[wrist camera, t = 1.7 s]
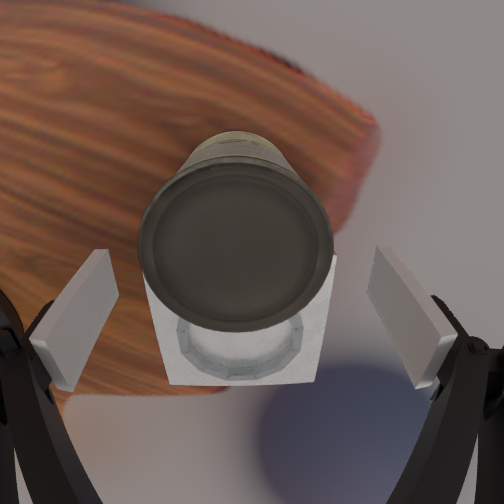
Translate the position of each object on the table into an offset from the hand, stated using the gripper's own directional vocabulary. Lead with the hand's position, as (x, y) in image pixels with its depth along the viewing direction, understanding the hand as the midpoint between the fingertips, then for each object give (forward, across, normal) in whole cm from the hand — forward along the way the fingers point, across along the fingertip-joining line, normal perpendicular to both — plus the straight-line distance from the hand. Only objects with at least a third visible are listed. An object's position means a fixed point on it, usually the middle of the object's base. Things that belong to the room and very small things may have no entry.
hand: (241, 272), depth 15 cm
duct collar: (+15, 0, -17) cm, 23 cm away
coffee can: (+16, -1, 0) cm, 16 cm away
